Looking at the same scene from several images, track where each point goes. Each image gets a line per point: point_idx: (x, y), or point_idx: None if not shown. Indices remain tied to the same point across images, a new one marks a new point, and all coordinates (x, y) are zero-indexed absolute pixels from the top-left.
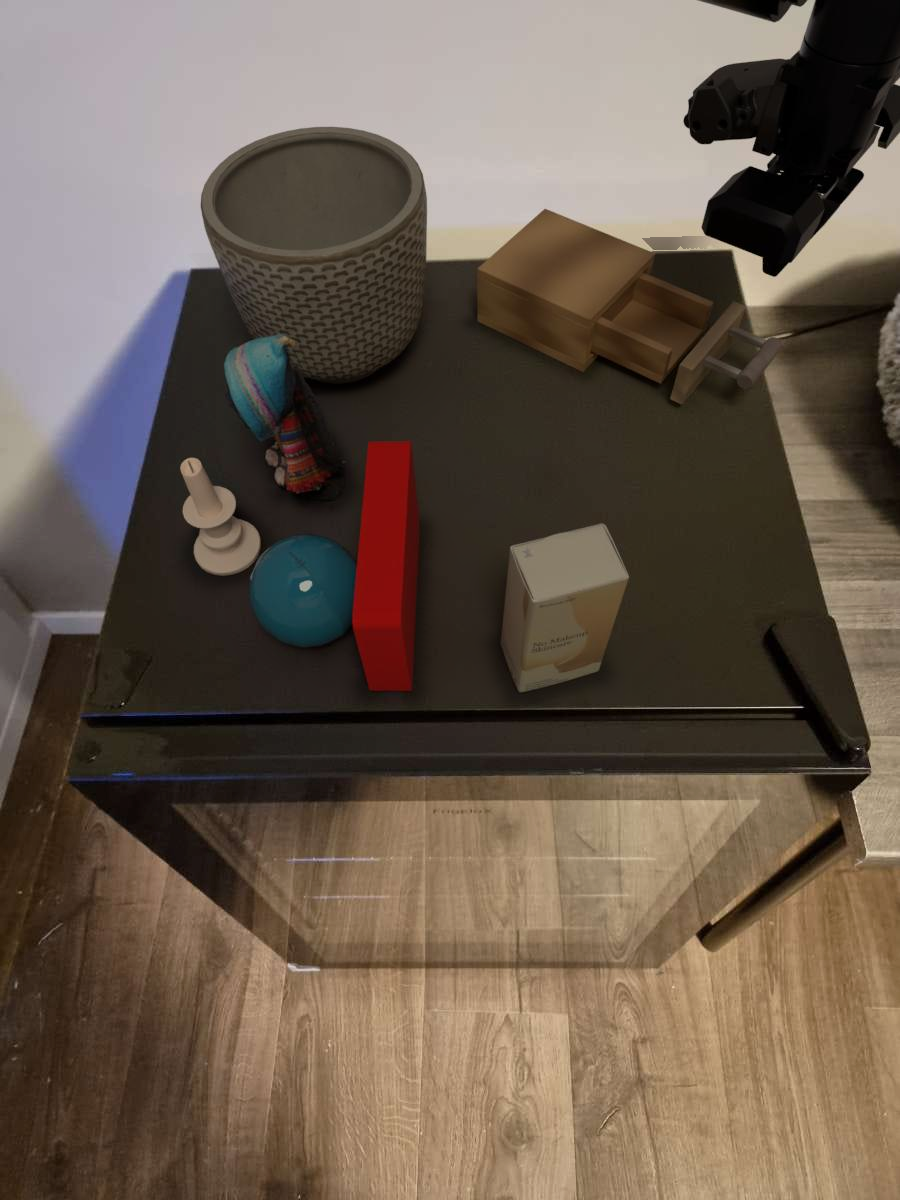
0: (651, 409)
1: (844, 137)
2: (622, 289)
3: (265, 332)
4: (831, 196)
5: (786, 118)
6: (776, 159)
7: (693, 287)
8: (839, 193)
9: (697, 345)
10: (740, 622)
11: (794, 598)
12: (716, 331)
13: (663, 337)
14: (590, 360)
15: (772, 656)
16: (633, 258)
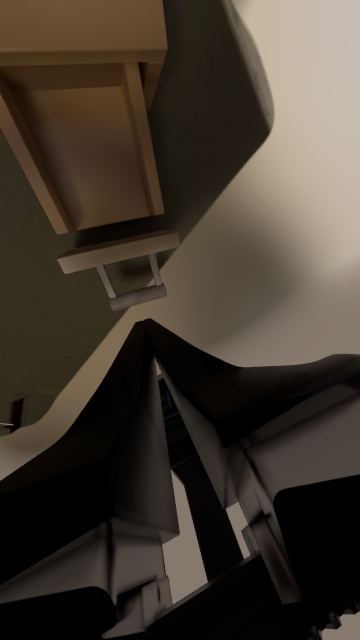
0: (54, 239)
1: None
2: (53, 56)
3: None
4: (211, 479)
5: None
6: (281, 419)
7: (211, 145)
8: (218, 495)
9: (95, 251)
10: (6, 392)
11: (50, 390)
12: (128, 251)
13: (107, 187)
14: None
15: (13, 407)
16: (125, 2)
